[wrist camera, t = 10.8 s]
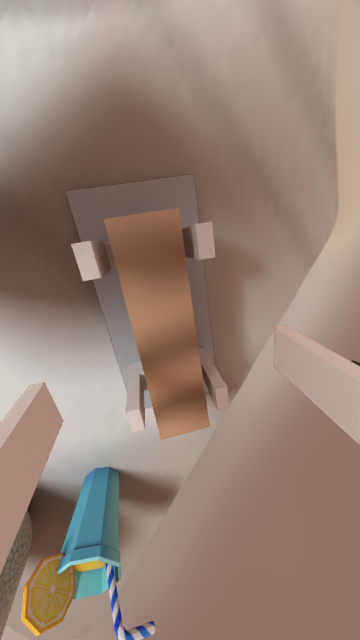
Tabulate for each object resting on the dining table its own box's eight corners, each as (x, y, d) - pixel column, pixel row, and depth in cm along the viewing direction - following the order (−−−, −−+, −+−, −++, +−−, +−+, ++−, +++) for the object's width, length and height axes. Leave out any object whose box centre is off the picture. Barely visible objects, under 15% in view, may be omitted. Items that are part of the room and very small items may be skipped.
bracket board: (69, 194, 20) (16, 155, 11) (190, 177, 21) (224, 132, 13) (133, 405, 29) (130, 471, 21) (215, 384, 31) (244, 438, 22)
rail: (113, 226, 18) (103, 219, 14) (169, 217, 19) (178, 207, 14) (157, 404, 25) (161, 440, 21) (197, 394, 26) (209, 426, 21)
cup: (158, 469, 34) (171, 623, 20) (139, 501, 36) (139, 662, 22) (71, 454, 30) (11, 633, 16) (54, 491, 32) (-14, 681, 18)
